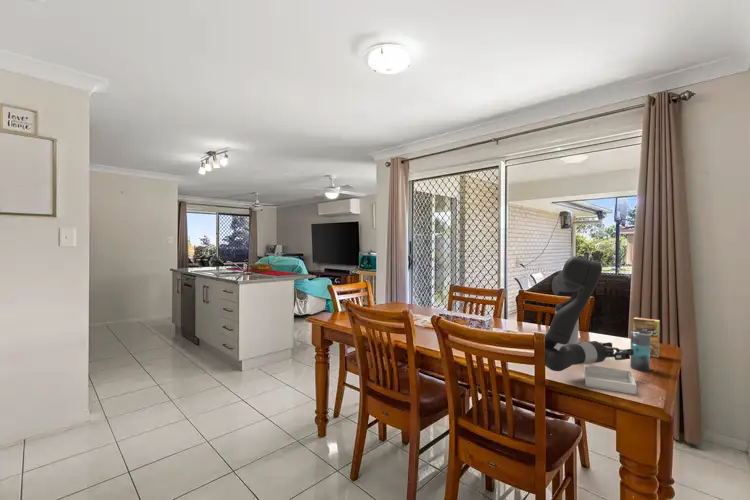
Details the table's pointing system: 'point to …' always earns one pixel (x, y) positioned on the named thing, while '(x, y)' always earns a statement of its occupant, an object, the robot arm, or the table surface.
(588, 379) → the tray
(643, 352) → the tin
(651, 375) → the table surface
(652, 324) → the candy box
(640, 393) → the table surface
